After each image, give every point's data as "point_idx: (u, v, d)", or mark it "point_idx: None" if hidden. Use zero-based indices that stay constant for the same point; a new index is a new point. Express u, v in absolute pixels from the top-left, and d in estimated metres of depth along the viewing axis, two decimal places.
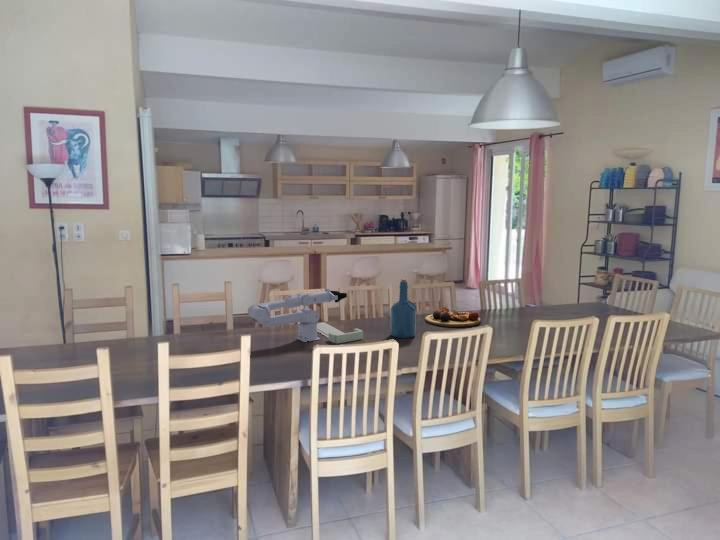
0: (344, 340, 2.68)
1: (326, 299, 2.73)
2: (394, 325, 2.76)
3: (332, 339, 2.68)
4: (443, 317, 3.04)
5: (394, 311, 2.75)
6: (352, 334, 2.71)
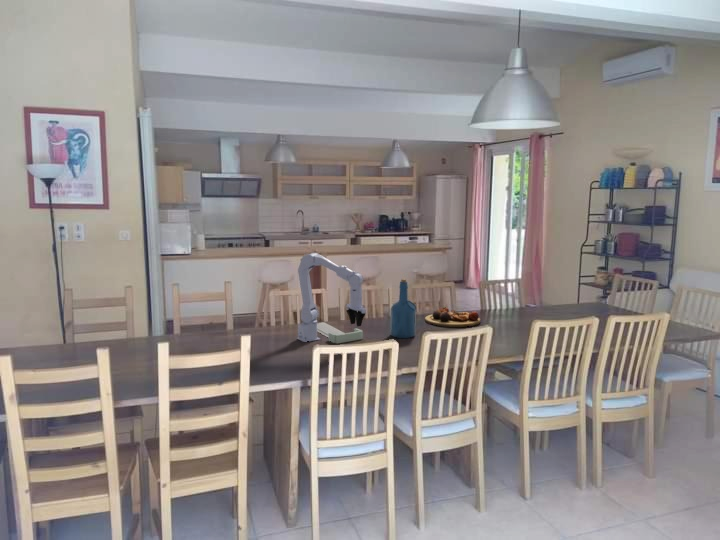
0: (344, 340, 2.68)
1: (356, 304, 2.61)
2: (394, 325, 2.76)
3: (332, 339, 2.68)
4: (443, 317, 3.03)
5: (394, 311, 2.75)
6: (352, 334, 2.71)
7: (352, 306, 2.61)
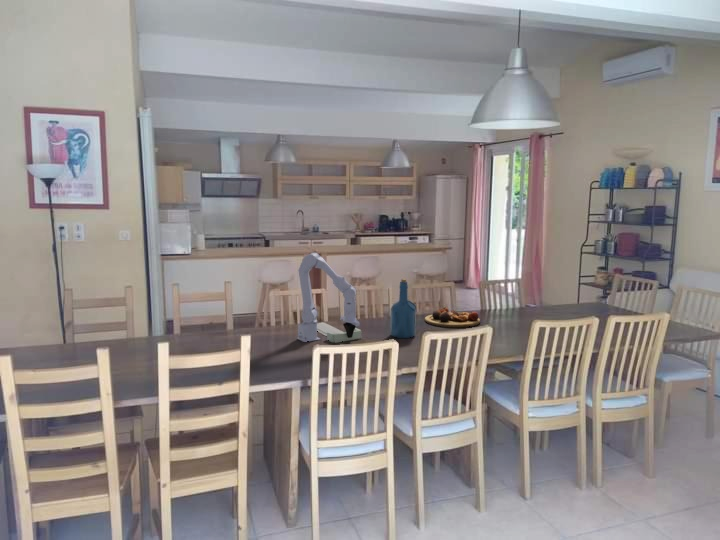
0: (342, 339, 2.69)
1: (350, 317, 2.66)
2: (394, 325, 2.76)
3: (331, 338, 2.69)
4: (442, 317, 3.03)
5: (394, 311, 2.75)
6: None
7: (346, 319, 2.67)
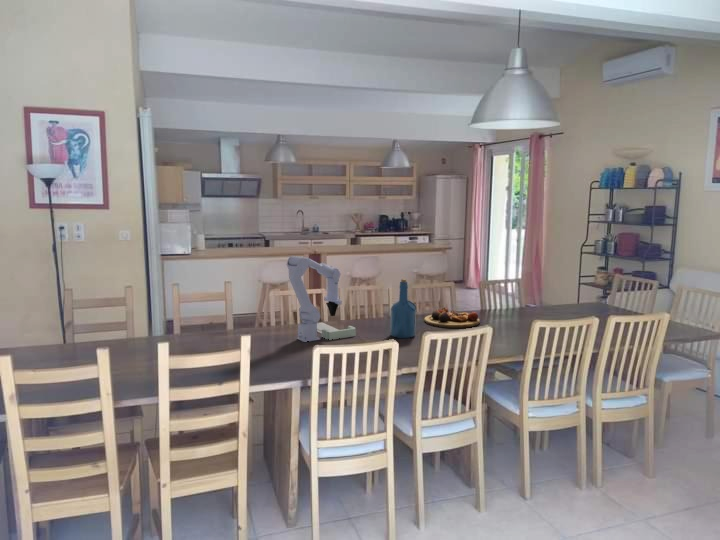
0: (336, 337, 2.74)
1: (333, 296, 2.80)
2: (394, 325, 2.76)
3: (325, 335, 2.74)
4: (442, 318, 3.02)
5: (394, 311, 2.75)
6: (345, 331, 2.76)
7: (329, 298, 2.81)
